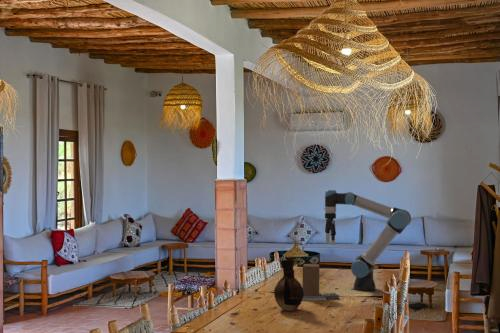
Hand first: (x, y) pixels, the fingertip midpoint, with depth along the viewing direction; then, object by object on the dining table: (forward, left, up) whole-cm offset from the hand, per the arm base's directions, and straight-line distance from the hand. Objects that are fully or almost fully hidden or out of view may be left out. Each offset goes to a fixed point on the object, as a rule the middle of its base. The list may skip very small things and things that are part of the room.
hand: (330, 243), depth 471 cm
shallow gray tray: (+19, +25, -32) cm, 45 cm away
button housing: (+6, +26, -32) cm, 41 cm away
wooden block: (+19, +25, -31) cm, 44 cm away
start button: (+6, +26, -31) cm, 41 cm away
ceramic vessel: (+40, +58, -32) cm, 77 cm away
